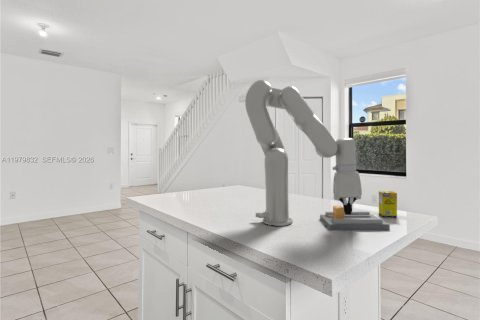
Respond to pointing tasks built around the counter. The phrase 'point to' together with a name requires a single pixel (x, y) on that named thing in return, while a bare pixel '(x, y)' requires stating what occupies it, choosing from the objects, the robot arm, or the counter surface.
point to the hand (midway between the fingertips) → (347, 213)
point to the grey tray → (356, 221)
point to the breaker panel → (329, 223)
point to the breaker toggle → (338, 212)
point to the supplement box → (388, 204)
